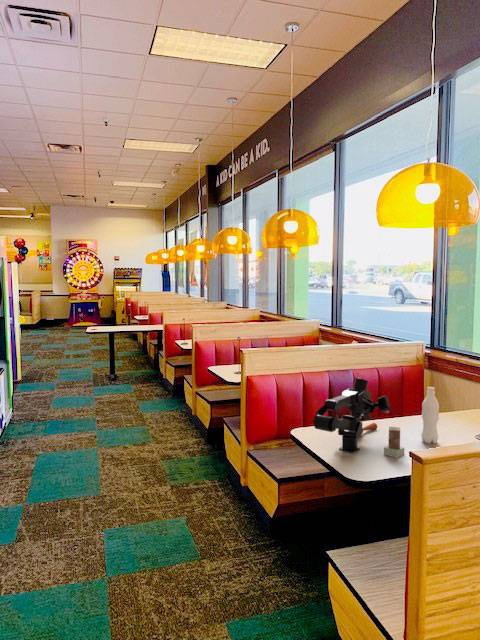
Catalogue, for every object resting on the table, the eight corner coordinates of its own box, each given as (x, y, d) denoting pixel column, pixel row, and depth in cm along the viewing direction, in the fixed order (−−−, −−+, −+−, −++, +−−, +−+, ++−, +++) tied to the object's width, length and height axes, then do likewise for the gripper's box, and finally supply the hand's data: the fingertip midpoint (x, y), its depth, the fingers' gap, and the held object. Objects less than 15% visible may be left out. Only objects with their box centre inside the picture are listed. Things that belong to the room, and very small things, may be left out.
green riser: (396, 457, 199) (396, 450, 198) (383, 454, 203) (383, 447, 203) (404, 454, 203) (404, 447, 202) (391, 450, 207) (391, 443, 207)
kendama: (381, 422, 233) (358, 429, 219) (378, 434, 234) (355, 441, 221) (370, 418, 238) (347, 423, 224) (367, 429, 239) (344, 435, 225)
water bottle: (439, 441, 218) (441, 386, 216) (436, 445, 212) (437, 390, 210) (423, 438, 222) (424, 384, 220) (419, 442, 216) (420, 388, 214)
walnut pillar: (388, 448, 201) (388, 429, 200) (388, 444, 205) (389, 426, 205) (399, 449, 200) (400, 430, 199) (399, 445, 204) (400, 427, 203)
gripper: (375, 380, 214) (393, 392, 223) (340, 395, 224) (360, 406, 233) (380, 402, 207) (399, 414, 216) (344, 417, 217) (364, 427, 226)
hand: (380, 415), depth 223 cm, fingers open, 9 cm apart
